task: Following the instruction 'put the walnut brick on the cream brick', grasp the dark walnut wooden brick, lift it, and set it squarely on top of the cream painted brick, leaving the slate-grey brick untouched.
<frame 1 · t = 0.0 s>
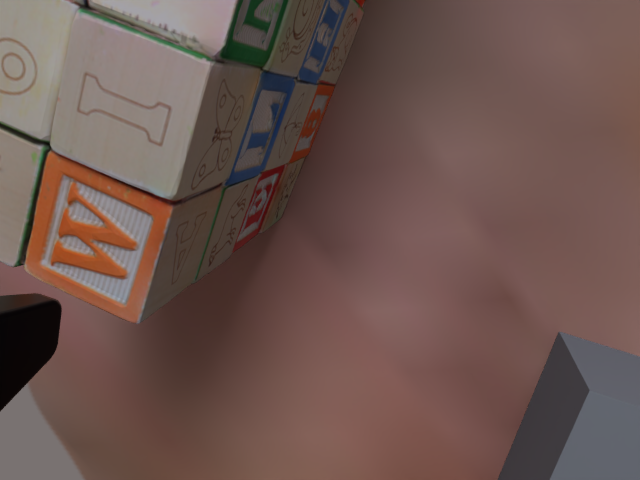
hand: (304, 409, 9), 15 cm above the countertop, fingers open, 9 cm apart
slate brick: (577, 430, 23), on the countertop
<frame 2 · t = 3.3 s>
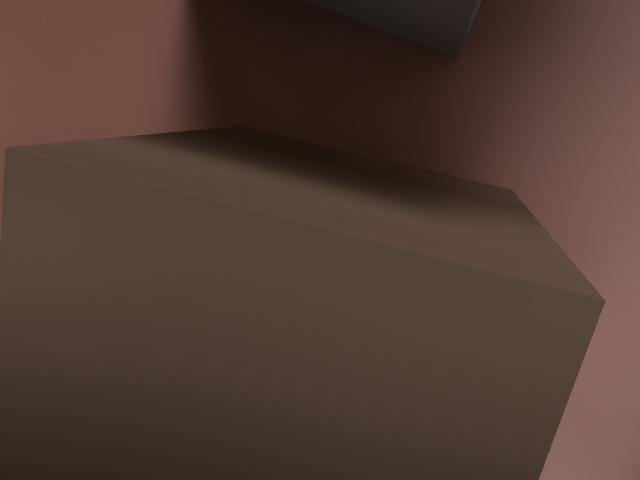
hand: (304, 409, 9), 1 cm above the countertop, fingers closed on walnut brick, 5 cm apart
walnut brick: (317, 378, 10), on the countertop, touching gripper
when the fingers open (7 cm above the countertop, at t = 7.5 s): walnut brick drops 1 cm, resting on cream brick.
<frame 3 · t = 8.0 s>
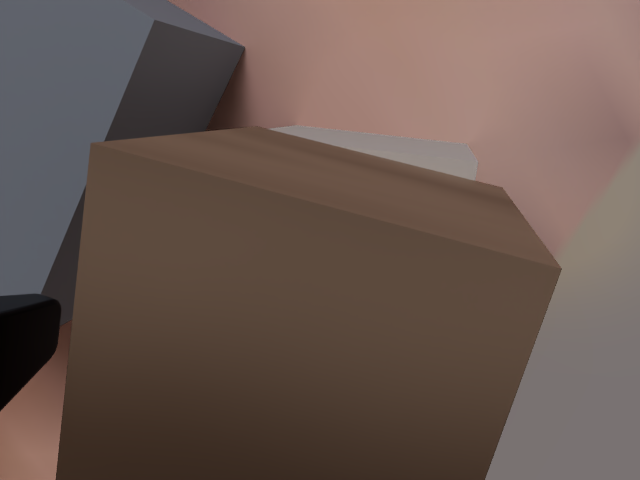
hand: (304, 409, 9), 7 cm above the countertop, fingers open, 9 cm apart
cream brick: (362, 276, 16), on the countertop, touching walnut brick
slate brick: (122, 135, 16), on the countertop
walnut brick: (325, 354, 11), point 5 cm above the countertop, touching cream brick
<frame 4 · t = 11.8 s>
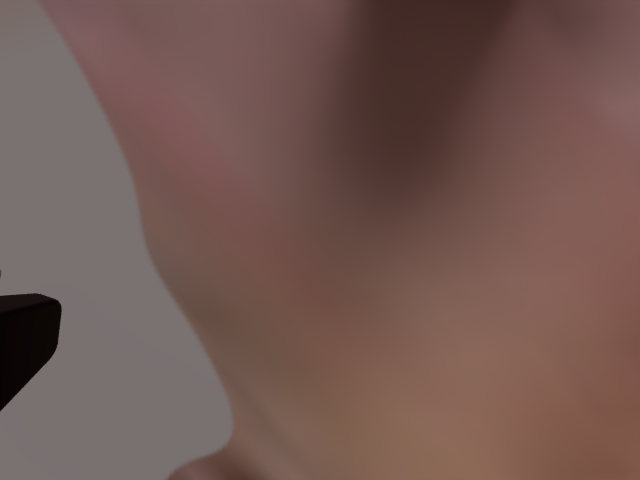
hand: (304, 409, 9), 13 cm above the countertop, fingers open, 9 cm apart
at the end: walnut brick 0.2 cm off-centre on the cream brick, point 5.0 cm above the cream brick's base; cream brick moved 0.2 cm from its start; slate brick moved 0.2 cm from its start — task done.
